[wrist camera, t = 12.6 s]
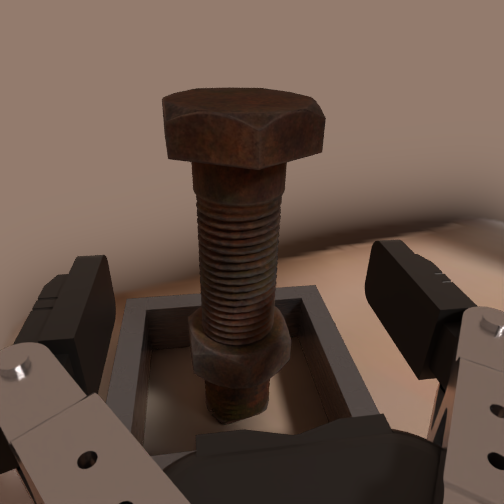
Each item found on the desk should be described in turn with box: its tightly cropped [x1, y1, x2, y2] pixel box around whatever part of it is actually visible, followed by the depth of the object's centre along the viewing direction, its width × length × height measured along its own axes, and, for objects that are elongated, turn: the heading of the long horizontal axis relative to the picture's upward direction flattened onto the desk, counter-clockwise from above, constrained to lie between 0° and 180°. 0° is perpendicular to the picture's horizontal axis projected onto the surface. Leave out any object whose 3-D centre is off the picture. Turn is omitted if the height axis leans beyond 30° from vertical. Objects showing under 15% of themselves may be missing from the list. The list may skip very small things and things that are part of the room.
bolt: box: [162, 88, 326, 424], centre depth 17 cm, size 6×5×15 cm
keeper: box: [106, 285, 380, 470], centre depth 20 cm, size 11×11×3 cm
